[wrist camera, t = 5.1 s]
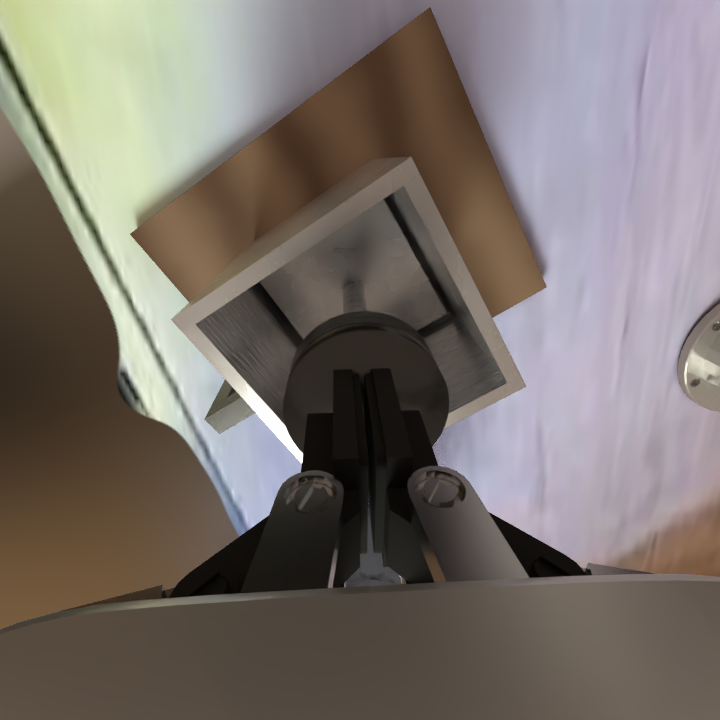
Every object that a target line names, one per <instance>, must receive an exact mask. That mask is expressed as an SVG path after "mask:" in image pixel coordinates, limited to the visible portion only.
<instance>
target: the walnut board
mask: <svg viewBox="0 0 720 720" xmlns="http://www.w3.org/2000/svg"><path fill="white" fill-rule="evenodd" d="M396 157H412V159H413V161H414V163H415V165H416V167H417V169H418V171H419V173H420V175H421V177H422V179H423V181H424V183H425V185H426V187H427V189H428V191H429V193H430V195H431V197H432V199H433V201H434V203H435V205H436V207H437V209H438V211H439V213H440V215H441V217H442V219H443V221H444V223H445V225H446V227H447V229H448V231H449V233H450V235H451V237H452V239H453V241H454V243H455V245H456V247H457V249H458V251H459V253H460V255H461V257H462V259H463V261H464V263H465V265H466V267H467V269H468V271H469V273H470V275H471V277H472V279H473V281H474V283H475V285H476V287H477V289H478V291H479V293H480V295H481V297H482V299H483V301H484V303H485V305H486V307H487V309H488V311H489V313H490V315H491V317H492V318H493V317H494V316H496V315H498V314H500V313H502V312H503V311H505V310H507V309H509V308H511V307H512V306H514V305H516V304H518V303H519V302H521V301H523V300H525V299H527V298H528V297H530V296H532V295H534V294H535V293H537V292H539V291H541V290H543V289H544V288H546V284H545V282H544V280H543V277H542V275H541V272H540V270H539V268H538V265H537V263H536V260H535V258H534V256H533V253H532V251H531V248H530V246H529V244H528V241H527V239H526V236H525V234H524V232H523V229H522V227H521V224H520V222H519V220H518V217H517V215H516V212H515V210H514V207H513V205H512V203H511V200H510V198H509V195H508V193H507V191H506V188H505V186H504V183H503V181H502V179H501V176H500V174H499V171H498V169H497V167H496V164H495V162H494V159H493V157H492V155H491V152H490V150H489V147H488V145H487V143H486V140H485V138H484V135H483V133H482V131H481V128H480V126H479V123H478V121H477V119H476V116H475V114H474V111H473V109H472V107H471V104H470V102H469V99H468V97H467V94H466V92H465V90H464V87H463V85H462V82H461V80H460V78H459V75H458V73H457V70H456V68H455V66H454V63H453V61H452V58H451V56H450V54H449V51H448V49H447V46H446V44H445V42H444V39H443V37H442V34H441V32H440V30H439V27H438V25H437V22H436V20H435V18H434V15H433V13H432V10H431V8H428V9H427V10H426V11H424V12H423V13H422V14H421V15H419V16H418V17H417V18H415V19H414V20H413V21H411V22H410V23H409V24H407V25H406V26H405V27H403V28H402V29H401V30H399V31H398V32H397V33H395V34H394V35H393V36H391V37H390V38H389V39H387V40H386V41H385V42H383V43H382V44H381V45H380V46H378V47H377V48H376V49H374V50H373V51H372V52H370V53H369V54H368V55H366V56H365V57H364V58H362V59H361V60H360V61H358V62H357V63H356V64H354V65H353V66H352V67H350V68H349V69H348V70H346V71H345V72H344V73H342V74H341V75H340V76H339V77H337V78H336V79H335V80H333V81H332V82H331V83H329V84H328V85H327V86H325V87H324V88H323V89H321V90H320V91H319V92H317V93H316V94H315V95H313V96H312V97H311V98H309V99H308V100H307V101H305V102H304V103H303V104H301V105H300V106H299V107H298V108H296V109H295V110H294V111H292V112H291V113H290V114H288V115H287V116H286V117H284V118H283V119H282V120H280V121H279V122H278V123H276V124H275V125H274V126H272V127H271V128H270V129H268V130H267V131H266V132H264V133H263V134H262V135H260V136H259V137H258V138H257V139H255V140H254V141H253V142H251V143H250V144H249V145H247V146H246V147H245V148H243V149H242V150H241V151H239V152H238V153H237V154H235V155H234V156H233V157H231V158H230V159H229V160H227V161H226V162H225V163H223V164H222V165H221V166H219V167H218V168H217V169H216V170H214V171H213V172H212V173H210V174H209V175H208V176H206V177H205V178H204V179H202V180H201V181H200V182H198V183H197V184H196V185H194V186H193V187H192V188H190V189H189V190H188V191H186V192H185V193H184V194H182V195H181V196H180V197H178V198H177V199H176V200H174V201H173V202H172V203H171V204H169V205H168V206H167V207H165V208H164V209H163V210H161V211H160V212H159V213H157V214H156V215H155V216H153V217H152V218H151V219H149V220H148V221H147V222H145V223H144V224H143V225H141V226H140V227H139V228H137V229H136V230H135V231H133V232H132V233H131V234H130V235H131V236H132V237H133V238H134V239H135V240H136V242H137V243H138V244H139V245H140V246H141V247H142V248H143V250H144V251H145V252H146V253H147V254H148V255H149V257H150V258H151V259H152V260H153V261H154V262H155V263H156V265H157V266H158V267H159V268H160V269H161V270H162V272H163V273H164V274H165V275H166V276H167V277H168V278H169V280H170V281H171V282H172V283H173V284H174V285H175V287H176V288H177V289H178V290H179V291H180V292H181V293H182V295H183V296H184V297H185V298H186V299H187V300H188V301H189V302H190V301H191V300H192V299H193V298H194V297H196V296H197V295H198V294H199V293H200V292H201V291H202V290H203V289H204V288H205V287H206V286H207V285H208V284H209V283H210V282H211V281H212V280H213V279H214V278H215V277H217V276H218V275H219V274H220V273H221V272H222V271H223V270H224V269H225V268H226V267H227V266H228V265H229V264H230V263H231V262H232V261H233V260H234V259H235V258H236V257H238V256H239V255H240V254H241V253H242V252H243V251H244V250H245V249H246V248H247V247H248V246H249V245H250V244H251V243H252V242H253V241H254V240H256V239H257V238H259V237H260V236H262V235H263V234H265V233H266V232H267V231H269V230H270V229H272V228H273V227H275V226H276V225H278V224H279V223H280V222H282V221H283V220H285V219H286V218H288V217H289V216H291V215H292V214H293V213H295V212H296V211H298V210H299V209H301V208H302V207H304V206H305V205H306V204H308V203H309V202H311V201H312V200H314V199H315V198H316V197H318V196H319V195H321V194H322V193H324V192H325V191H327V190H328V189H329V188H331V187H332V186H334V185H335V184H337V183H338V182H340V181H341V180H342V179H344V178H345V177H347V176H348V175H350V174H351V173H353V172H354V171H355V170H357V169H358V168H360V167H361V166H363V165H364V164H366V163H367V162H368V161H370V160H371V159H378V158H396Z"/></svg>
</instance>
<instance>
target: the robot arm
mask: <svg viewBox="0 0 720 720" xmlns="http://www.w3.org/2000/svg"><path fill="white" fill-rule="evenodd" d="M678 379H679V384H680V386H681V388H682V390H683V392H684V393H685V394H686V395H687V396H688V397H689V398H690V399H691V400H693V401H694V402H696V403H697V404H699V405H700V406H702V407H704V408H707V409H709V410H713V411H719V412H720V303H719V304H718V305H717V306H715V307H714V308H713V309H712V310H711V311H710V312H709V313H707V314H706V315H705V316H704V317H703V318H702V320H701V321H700V322H699V323H698V324H697V325H696V326H695V328H694V329H693V331H692V332H691V334H690V335H689V337H688V338H687V340H686V342H685V344H684V346H683V349H682V351H681V354H680V358H679V362H678ZM368 501H369V511H370V521H371V531H372V542H373V551H374V553H382V560H383V567H390V568H391V569H392V570H393V571H395V572H396V573H397V574H399V575H400V576H401V578H400V581H401V584H398V585H379V586H361V587H346V581H347V580H348V579H349V578H350V577H351V576H352V575H353V574H354V573H355V572H356V571H357V570H358V569H359V568H360V554H367V533H368ZM0 720H720V577H714V576H702V575H690V574H655V573H649V572H643V571H636V570H630V569H623V568H617V567H611V566H604V565H598V564H592V563H588V564H587V567H586V568H581V567H580V566H579V565H578V564H577V563H576V562H574V561H573V560H572V559H570V558H569V557H567V556H566V555H564V554H562V553H561V552H559V551H557V550H555V549H554V548H552V547H550V546H548V545H546V544H545V543H543V542H541V541H539V540H538V539H536V538H534V537H532V536H530V535H529V534H527V533H525V532H523V531H521V530H520V529H518V528H516V527H514V526H513V525H511V524H509V523H507V522H505V521H504V520H502V519H500V518H498V517H496V516H495V515H493V514H491V513H489V512H488V511H487V509H486V508H485V506H484V504H483V503H482V501H481V500H480V498H479V497H478V495H477V493H476V492H475V490H474V489H473V487H472V485H471V484H470V483H469V481H468V480H467V479H466V478H465V477H464V476H463V475H461V474H460V473H458V472H457V471H455V470H452V469H450V468H447V467H441V466H438V464H437V461H436V458H435V455H434V452H433V449H432V446H431V443H430V440H429V437H428V434H427V431H426V428H425V425H424V422H423V419H422V416H421V414H420V411H419V410H405V411H401V408H400V404H399V400H398V396H397V393H396V389H395V385H394V381H393V377H392V374H391V370H390V368H379V369H371V373H370V374H364V414H363V405H362V396H361V387H360V379H359V374H352V369H339V370H333V413H308V414H307V422H306V431H305V440H304V449H303V459H302V468H301V473H298V474H296V475H294V476H292V477H290V478H289V479H287V480H286V481H285V482H284V483H283V484H282V486H281V487H280V489H279V491H278V493H277V496H276V499H275V501H274V504H273V507H272V509H271V512H270V515H269V516H268V517H266V518H265V519H263V520H262V521H261V522H259V523H258V524H256V525H255V526H254V527H252V528H251V529H250V530H248V531H247V532H245V533H244V534H243V535H241V536H240V537H238V538H237V539H236V540H234V541H233V542H232V543H230V544H229V545H227V546H226V547H225V548H224V549H222V550H221V551H219V552H218V553H216V554H215V555H214V556H212V557H211V558H209V559H208V560H207V561H205V562H204V563H203V564H201V565H200V566H198V567H197V568H196V569H194V570H193V571H192V572H190V573H189V574H188V575H187V576H185V577H184V578H183V579H182V580H181V581H180V582H179V583H178V584H177V585H176V587H175V588H171V589H167V590H164V587H163V585H159V586H155V587H152V588H148V589H144V590H140V591H136V592H132V593H128V594H124V595H120V596H116V597H113V598H109V599H105V600H101V601H97V602H94V603H89V604H86V605H81V606H77V607H74V608H70V609H66V610H62V611H58V612H55V613H51V614H47V615H44V616H40V617H37V618H33V619H29V620H26V621H22V622H18V623H16V624H13V625H11V626H8V627H5V628H2V629H0Z"/></svg>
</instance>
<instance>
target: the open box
mask: <svg viewBox="0 0 720 720" xmlns="http://www.w3.org/2000/svg"><path fill="white" fill-rule="evenodd" d="M383 199H384V201H385V203H386V204H387V206H388V208H389V210H390V212H391V213H392V215H393V217H394V219H395V221H396V222H397V224H398V226H399V228H400V230H401V232H402V233H403V235H404V237H405V239H406V241H407V242H408V244H409V246H410V248H411V250H412V251H413V253H414V255H415V257H416V259H417V260H418V262H419V264H420V266H421V268H422V269H423V271H424V273H425V275H426V277H427V278H428V280H429V282H430V284H431V286H432V287H433V289H434V291H435V293H436V295H437V296H438V298H439V300H440V302H441V304H442V305H443V307H444V309H445V311H446V313H447V314H445V315H443V316H442V317H440V318H438V319H436V320H435V321H433V322H431V323H430V324H428V325H426V326H424V327H423V328H421V329H419V330H417V332H418V333H419V334H420V335H421V336H422V337H423V339H424V340H425V342H426V343H427V345H428V347H429V349H430V351H431V353H432V355H433V357H434V359H435V361H436V363H437V365H438V367H439V369H440V371H441V373H442V375H443V378H444V380H445V382H446V385H447V388H448V394H449V412H448V418H447V421H446V424H445V427H444V429H445V428H447V427H449V426H451V425H452V424H454V423H456V422H458V421H460V420H462V419H464V418H466V417H468V416H470V415H472V414H474V413H476V412H478V411H480V410H482V409H484V408H485V407H487V406H489V405H491V404H493V403H495V402H497V401H499V400H501V399H503V398H505V397H507V396H509V395H511V394H513V393H515V392H517V391H518V390H520V389H522V388H524V387H526V385H525V383H524V381H523V379H522V377H521V375H520V373H519V371H518V369H517V367H516V365H515V363H514V361H513V359H512V357H511V355H510V353H509V351H508V349H507V347H506V345H505V343H504V341H503V339H502V337H501V335H500V333H499V331H498V329H497V327H496V325H495V323H494V321H493V319H492V317H491V315H490V313H489V311H488V309H487V307H486V305H485V303H484V301H483V299H482V297H481V295H480V293H479V291H478V289H477V287H476V285H475V283H474V281H473V279H472V277H471V275H470V273H469V271H468V269H467V267H466V265H465V263H464V261H463V259H462V257H461V255H460V253H459V251H458V249H457V247H456V245H455V243H454V241H453V239H452V237H451V235H450V233H449V231H448V229H447V227H446V225H445V223H444V221H443V219H442V217H441V215H440V213H439V211H438V209H437V207H436V205H435V203H434V201H433V199H432V197H431V195H430V193H429V191H428V189H427V187H426V185H425V183H424V181H423V179H422V177H421V175H420V173H419V171H418V169H417V167H416V165H415V163H414V161H413V159H412V157H396V158H378V159H371V160H370V161H368V162H367V163H366V164H364V165H363V166H361V167H360V168H358V169H357V170H355V171H354V172H353V173H351V174H350V175H348V176H347V177H345V178H344V179H342V180H341V181H340V182H338V183H337V184H335V185H334V186H332V187H331V188H329V189H328V190H327V191H325V192H324V193H322V194H321V195H319V196H318V197H316V198H315V199H314V200H312V201H311V202H309V203H308V204H306V205H305V206H304V207H302V208H301V209H299V210H298V211H296V212H295V213H293V214H292V215H291V216H289V217H288V218H286V219H285V220H283V221H282V222H280V223H279V224H278V225H276V226H275V227H273V228H272V229H270V230H269V231H267V232H266V233H265V234H263V235H262V236H260V237H259V238H257V239H256V240H254V241H253V242H252V243H251V244H250V245H249V246H248V247H247V248H246V249H245V250H244V251H243V252H242V253H241V254H240V255H239V256H238V257H236V258H235V259H234V260H233V261H232V262H231V263H230V264H229V265H228V266H227V267H226V268H225V269H224V270H223V271H222V272H221V273H220V274H219V275H218V276H217V277H215V278H214V279H213V280H212V281H211V282H210V283H209V284H208V285H207V286H206V287H205V288H204V289H203V290H202V291H201V292H200V293H199V294H198V295H197V296H196V297H194V298H193V299H192V300H191V301H190V302H189V303H188V304H187V305H186V306H185V307H184V308H183V309H182V310H181V311H180V312H179V313H178V314H177V315H176V316H175V317H173V318H172V319H171V320H172V321H173V322H174V323H175V325H176V326H177V327H178V328H179V329H180V330H181V331H182V332H183V333H184V334H185V335H186V337H187V338H188V339H189V340H190V341H191V342H192V343H193V344H194V345H195V346H196V348H197V349H198V350H199V351H200V352H201V353H202V354H203V355H204V356H205V357H206V359H207V360H208V361H209V362H210V363H211V364H212V365H213V366H214V367H215V368H216V370H217V371H218V372H219V373H220V374H221V375H222V376H223V377H224V378H225V381H224V383H223V385H222V386H221V388H220V390H219V392H218V394H217V396H216V398H215V400H214V402H213V404H212V406H211V408H210V410H209V412H208V414H207V416H206V417H205V420H206V421H207V422H208V423H209V424H210V425H211V426H212V427H213V428H214V429H215V430H216V431H217V432H218V433H219V434H220V433H222V432H224V431H225V430H227V429H229V428H230V427H232V426H234V425H235V424H237V423H239V422H241V421H242V420H244V419H246V418H247V417H249V416H251V415H253V414H254V413H256V414H257V415H258V416H259V417H260V418H261V419H262V420H263V421H264V422H265V423H266V424H267V426H268V427H269V428H270V429H271V430H272V431H273V432H274V433H275V434H276V435H277V437H278V438H279V439H280V440H281V441H282V442H283V443H284V444H285V445H286V446H287V448H288V449H289V450H290V451H291V452H292V453H293V454H294V455H295V456H296V457H297V459H298V460H299V461H300V462H301V463H302V459H303V453H302V452H301V451H300V450H299V449H298V448H297V446H296V445H295V444H294V443H293V441H292V439H291V438H290V436H289V434H288V431H287V429H286V426H285V422H284V418H283V400H284V395H285V390H286V386H287V382H288V377H289V373H290V369H291V364H292V360H293V357H294V355H295V353H296V350H297V348H298V347H299V345H300V344H301V342H302V341H303V340H304V339H303V338H302V337H301V335H300V334H299V333H298V332H297V330H296V329H295V328H294V326H293V325H292V324H291V322H290V321H289V320H288V318H287V317H286V316H285V314H284V313H283V312H282V310H281V309H280V308H279V307H278V305H277V304H276V303H275V301H274V300H273V299H272V297H271V296H270V295H269V293H268V292H267V291H266V289H265V288H264V287H263V286H262V284H261V283H260V282H259V281H261V280H262V279H264V278H265V277H267V276H268V275H270V274H271V273H273V272H274V271H276V270H277V269H279V268H280V267H282V266H283V265H285V264H286V263H288V262H289V261H291V260H292V259H294V258H295V257H297V256H298V255H300V254H301V253H303V252H304V251H306V250H307V249H309V248H310V247H312V246H313V245H315V244H316V243H318V242H319V241H321V240H322V239H324V238H325V237H327V236H328V235H330V234H331V233H333V232H334V231H336V230H338V229H339V228H341V227H342V226H344V225H345V224H347V223H348V222H350V221H351V220H353V219H354V218H356V217H357V216H359V215H360V214H362V213H363V212H365V211H366V210H368V209H369V208H371V207H372V206H374V205H375V204H377V203H378V202H380V201H381V200H383Z"/></svg>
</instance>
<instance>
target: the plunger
mask: <svg viewBox="0 0 720 720" xmlns="http://www.w3.org/2000/svg"><path fill="white" fill-rule="evenodd" d="M259 282H260V283H261V284H262V286H263V287H264V288H265V289H266V291H267V292H268V293H269V295H270V296H271V297H272V299H273V300H274V301H275V303H276V304H277V305H278V307H279V308H280V309H281V310H282V312H283V313H284V314H285V316H286V317H287V318H288V320H289V321H290V322H291V324H292V325H293V326H294V328H295V329H296V330H297V332H298V333H299V334H300V335H301V337H302V338H303V339H304V340H303V341H302V342H301V344H300V345H299V347H298V348H297V350H296V353H295V355H294V357H293V360H292V364H291V369H290V373H289V377H288V382H287V386H286V390H285V395H284V400H283V418H284V422H285V426H286V429H287V431H288V434H289V436H290V438H291V439H292V441H293V443H294V444H295V445H296V446H297V448H298V449H299V450H300V451H301V452H302V453H303V449H304V440H305V431H306V422H307V414H308V413H333V370H339V369H352V374H359V379H360V387H361V396H362V405H363V414H364V374H370V373H371V369H379V368H390V370H391V374H392V377H393V381H394V385H395V389H396V393H397V396H398V400H399V404H400V408H401V411H405V410H419V411H420V414H421V416H422V419H423V422H424V425H425V428H426V431H427V434H428V437H429V440H430V443H431V446H433V445H434V443H435V442H436V441H437V439H438V438H439V436H440V435H441V433H442V431H443V429H444V427H445V424H446V421H447V418H448V412H449V394H448V388H447V385H446V382H445V380H444V378H443V375H442V373H441V371H440V369H439V367H438V365H437V363H436V361H435V359H434V357H433V355H432V353H431V351H430V349H429V347H428V345H427V343H426V342H425V340H424V339H423V337H422V336H421V335H420V334H419V333H418V332H417V330H419V329H421V328H423V327H424V326H426V325H428V324H430V323H431V322H433V321H435V320H436V319H438V318H440V317H442V316H443V315H445V314H447V313H446V311H445V309H444V307H443V305H442V304H441V302H440V300H439V298H438V296H437V295H436V293H435V291H434V289H433V287H432V286H431V284H430V282H429V280H428V278H427V277H426V275H425V273H424V271H423V269H422V268H421V266H420V264H419V262H418V260H417V259H416V257H415V255H414V253H413V251H412V250H411V248H410V246H409V244H408V242H407V241H406V239H405V237H404V235H403V233H402V232H401V230H400V228H399V226H398V224H397V222H396V221H395V219H394V217H393V215H392V213H391V212H390V210H389V208H388V206H387V204H386V203H385V201H384V199H383V200H381V201H380V202H378V203H377V204H375V205H374V206H372V207H371V208H369V209H368V210H366V211H365V212H363V213H362V214H360V215H359V216H357V217H356V218H354V219H353V220H351V221H350V222H348V223H347V224H345V225H344V226H342V227H341V228H339V229H338V230H336V231H334V232H333V233H331V234H330V235H328V236H327V237H325V238H324V239H322V240H321V241H319V242H318V243H316V244H315V245H313V246H312V247H310V248H309V249H307V250H306V251H304V252H303V253H301V254H300V255H298V256H297V257H295V258H294V259H292V260H291V261H289V262H288V263H286V264H285V265H283V266H282V267H280V268H279V269H277V270H276V271H274V272H273V273H271V274H270V275H268V276H267V277H265V278H264V279H262V280H261V281H259Z"/></svg>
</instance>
